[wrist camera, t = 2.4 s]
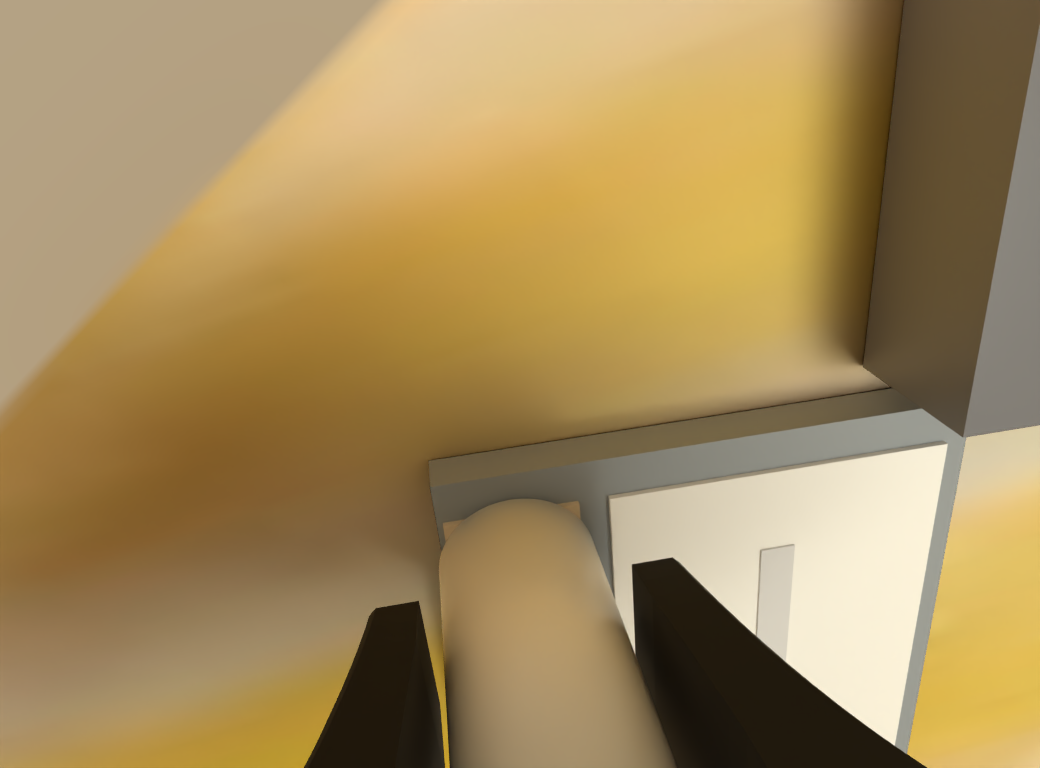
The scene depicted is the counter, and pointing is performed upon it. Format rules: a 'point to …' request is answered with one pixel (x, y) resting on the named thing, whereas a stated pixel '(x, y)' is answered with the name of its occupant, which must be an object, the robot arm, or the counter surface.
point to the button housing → (962, 217)
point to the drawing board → (765, 527)
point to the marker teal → (539, 648)
